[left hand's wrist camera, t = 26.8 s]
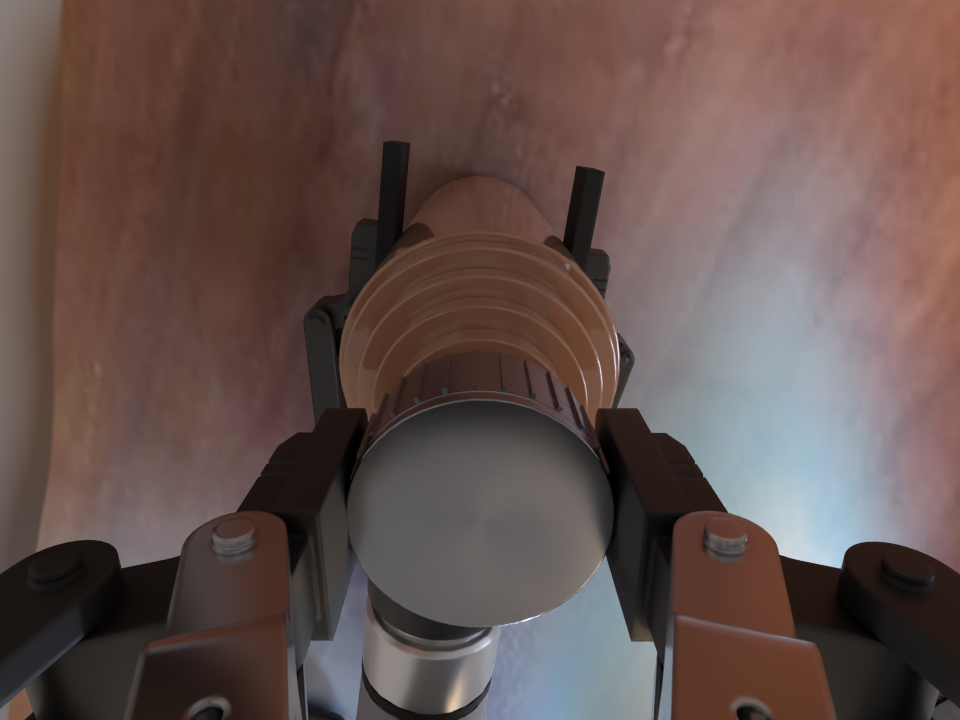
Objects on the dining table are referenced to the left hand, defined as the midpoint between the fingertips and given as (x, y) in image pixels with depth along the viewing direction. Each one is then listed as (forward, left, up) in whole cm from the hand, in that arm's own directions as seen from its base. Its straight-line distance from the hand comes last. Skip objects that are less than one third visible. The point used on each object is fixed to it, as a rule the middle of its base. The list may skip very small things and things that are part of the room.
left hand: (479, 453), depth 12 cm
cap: (0, 0, +2) cm, 2 cm away
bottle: (0, 0, -23) cm, 23 cm away
